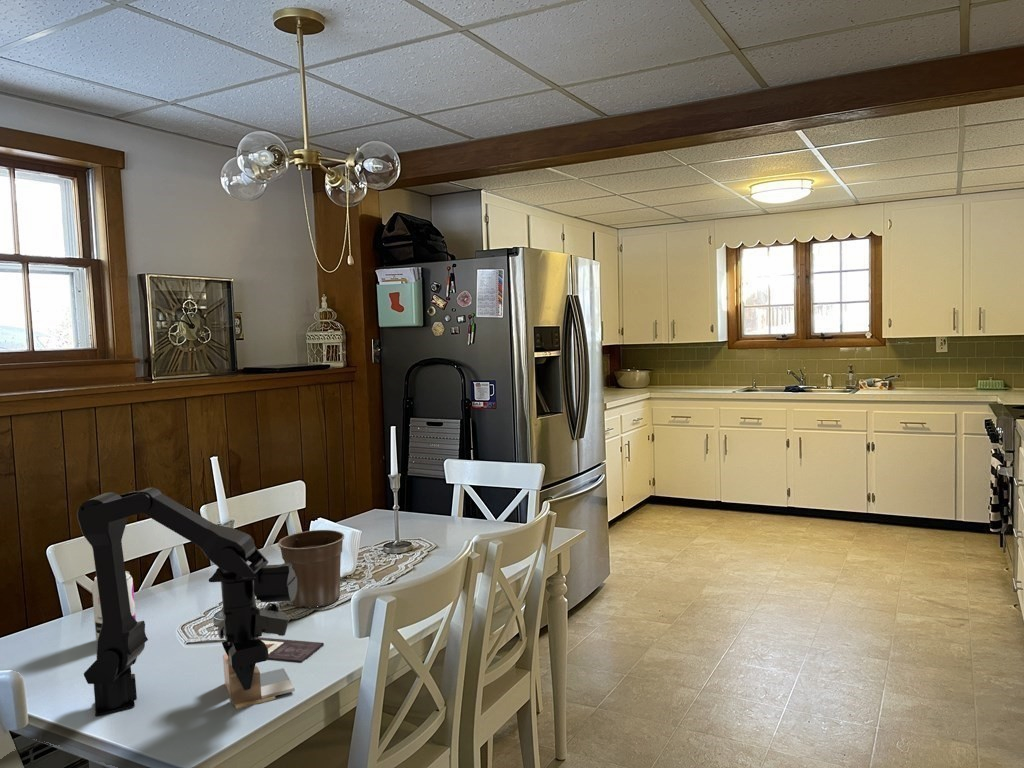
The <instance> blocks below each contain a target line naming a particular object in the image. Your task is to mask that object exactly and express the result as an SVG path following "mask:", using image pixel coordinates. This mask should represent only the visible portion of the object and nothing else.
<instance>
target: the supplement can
mask: <svg viewBox="0 0 1024 768" xmlns="http://www.w3.org/2000/svg"><path fill="white" fill-rule="evenodd" d="M125 572H126V580H127V587H128V595H129V603H130V610H131V615H132V616H133V618H134V619H135V620H136V621H137V619H136V617H137V616H136V606H135V604H136V603H135V592H134V591H135V590H134V581H133V580H134V579H133V577H132V575H131V574H130V571H128V570H125ZM91 593H92V604H93V605H92V606H93V617H94V630H95V642H96V643H97V640H98V637H99V634H100V630H101V627H102V614H101V607H100V600H99V592H98V585H97V577H96V576H95V577H94V580H93V582H92V585H91Z"/></svg>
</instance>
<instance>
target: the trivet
mask: <svg viewBox="0 0 1024 768" xmlns="http://www.w3.org/2000/svg"><path fill="white" fill-rule="evenodd" d="M286 680H290V681H291V679H290V677H289V676H288V674H287V671H286V670H285V668H284V667H282V668H278V669H275V670H269V671H266V672H262V673H261V672H260V682H261V687H262V686H266V685H270V684H274V683H278V682H282V681H286Z"/></svg>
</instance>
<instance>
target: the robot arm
mask: <svg viewBox="0 0 1024 768" xmlns="http://www.w3.org/2000/svg"><path fill="white" fill-rule="evenodd" d="M140 514H143V515H144V516H146V517H148V518H149V519H152V520H154V521H155V522H157V523H159V524H160V525H162V526H164V527H165V528H167V529H169V530H170V531H172V532H174V533H175V534H176V535H177V534H178V535H179V536H181V537H183V538H184V539H186V540H188V541H189V542H191V543H193V544H194V545H196V546H197V547H198V548H199V549H200V550H201V551H202V552H203V554H204V555H205V557H206V558H207V559H208V560H209V561H210V562H211V563H213V564H214V565H215V566H216V567H218V568H216V570H215V571H214V573H213V575H212V576H211V577H209V578H208V582H209V583H220V588H221V598H222V606H221V613H222V617H223V619H222V620H221V621H220V622H219V623H218V625H217V630H218V631H217V633H218V636H219V639H220V640H222V639H224V638H225V640H224V641H222V642H221V645H222V647H223V649H224V651H225V654H227V656H228V657H229V658H228V660H229V662H230V664H231V666H232V668H233V670H234V672H235V674H236V675H237V677H238V679H239V681H240V683H241V685H242V686H243V688H244V690H249V689H251V684H252V679H253V674H254V669H255V666H256V664H258V663H262V662H267V660H269V658H268V648H267V647H266V645H265V643H264V642H263V641H261V640H260V639H256V637H260V638H262V637H263V633H264V634H265V633H266V634H272V635H277V636H279V637H284V636H285V635H286V632H287V630H288V625H289V622H290V618H289V616H288V614H287V613H286V612H284V611H282V610H279V606H278V604H277V602H278V603H279V602H291V601H293V600H294V599H295V597H296V593H297V577H296V575H295V572H294V570H293V569H292V564H291V563H279V564H269V560H267V558H266V557H265V556H264V555H263V554H262V552H260V550H259V549H258V548H257V547H256V545H255V540H254V538H253V537H252V536H251V535H250V534H249V533H246V532H244V531H242V530H240V529H236V528H233V527H229V526H223V525H220V524H216V523H213V522H212V521H210V520H208V519H206V518H205V517H203V516H201V515H199V514H198V513H196V512H195V511H193V510H192V509H189V508H187V507H186V506H184V505H182V504H181V503H179V502H177V501H176V500H174V499H173V498H170V497H169V496H167V495H166V494H164V493H162V492H161V490H160V489H158V488H155V487H146V488H145V489H142V490H138V491H137V490H136V491H130V492H126V493H123V494H118V493H116V492H113V491H112V492H111V491H110V492H105V493H102V494H99V495H97V496H95V497H93V498H89V499H88V500H86V501H84V502H83V503H82V504H81V505H80V506H79V507H78V509H77V513H76V517H77V521H78V525H79V527H80V531H81V533H82V535H83V537H84V538H85V540H86V541H87V543H88V544H90V546H91V548H92V554H93V560H94V569H95V577H97V585H98V592H99V600H100V607H101V614H102V627H101V630H100V634H99V637H98V640H97V642H96V659H95V661H93V663H92V664H91V665H90V666H89V667H88V668H87V669H86V670H85V671H84V672H83V676H84V679H85V680H86V682H87V684H88V685H93V694H94V717H99V716H104V715H107V714H111V713H117V712H120V711H125V710H130V709H133V708H134V707H136V706H135V705H136V704H135V701H136V700H137V699H138V697H137V683H136V673H132V668H131V667H132V666H133V665H134V664H136V663H137V658H138V657H139V656H140V655H141V653H143V651H144V650H145V647H146V646H145V645H146V643H147V642H148V640H149V639H148V637H147V636H146V635H147V634H146V622H145V621H144V620H141V621H137V619H136V620H135V619H134V618H133V616H132V615H131V610H130V603H129V595H128V587H127V580H126V572H125V571H126V566H125V557H124V551H123V544H122V543H123V542H122V540H123V536H124V533H125V529H126V526H127V518H128V517H129V518H130V517H131V516H135V515H140ZM248 562H250V564H248ZM257 601H260V602H261V603H267V605H266V606H264V608H261V609H260V608H259V607H257V603H256V602H257Z"/></svg>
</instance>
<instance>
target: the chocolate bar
mask: <svg viewBox="0 0 1024 768" xmlns="http://www.w3.org/2000/svg"><path fill="white" fill-rule="evenodd" d="M256 639H260V640H261V641H263V642H264V643H265V645H266V647H267V648H268V658H269V659H268V660H271V661H280V662H281V661H282V662H293V663H303V662H304V661H306V660H308V659H309V658H311V657H312V656H313V655H314V654H316V653H317V651H319V650H320V649H321V648H323V647H324V646H325V643H324V642H319V641H305V640H296V639H282V638H281V639H280V638H271V637H270V638H269V637H256Z"/></svg>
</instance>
